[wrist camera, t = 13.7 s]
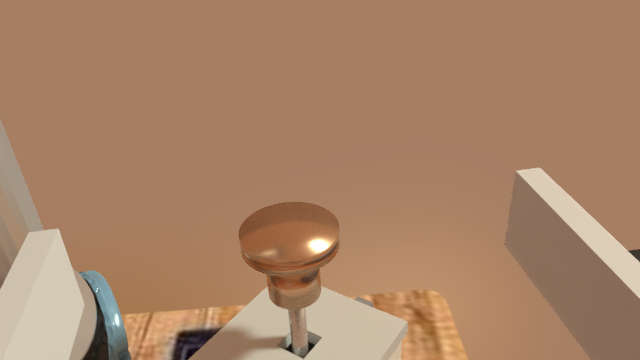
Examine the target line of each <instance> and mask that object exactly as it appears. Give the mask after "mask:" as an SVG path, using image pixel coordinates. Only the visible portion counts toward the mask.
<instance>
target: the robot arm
mask: <svg viewBox="0 0 640 360" xmlns="http://www.w3.org/2000/svg"><path fill="white" fill-rule="evenodd" d="M505 246H506V247H507V249H508V250H509V251H510V253H511V254H512V255H513V257H514V258H515V259H516V261H517V262H518V263H519V265H520V266H521V267H522V269H523V270H524V271H525V273H526V274H527V275H528V277H529V278H530V279H531V281H532V282H533V283H534V285H535V286H536V287H537V288H538V290H539V291H540V293H541V294H542V295H543V296H544V298H545V299H546V301H547V302H548V303H549V305H550V306H551V307H552V308H553V310H554V311H555V312H556V314H557V315H558V316H559V318H560V319H561V320H562V322H563V323H564V324H565V326H566V327H567V328H568V330H569V331H570V332H571V334H572V335H573V336H574V338H575V339H576V340H577V342H578V343H579V344H580V346H581V347H582V348H583V350H584V351H585V352H586V354H587V355H588V356H589V358H590V359H591V360H640V249H638V250H631V251H627V250H626V249H625V248H624V247H623V246H622V245H621V244H620V243H619V242H618V241H617V240H616V239H615V238H614V237H612V235H610V234H609V233H608V232H607V231H606V230H605V229H604V228H603V227H602V226H601V225H600V224H599V223H598V222H597V221H596V220H595V219H593V218H592V217H591V216H590V215H589V214H588V213H587V212H586V211H585V210H584V209H583V208H582V207H581V206H580V205H579V204H578V203H577V202H576V201H574V200H573V199H572V198H571V197H570V196H569V195H568V194H567V193H566V192H565V191H564V190H563V189H562V188H561V187H560V186H559V185H557V184H556V183H555V182H554V181H553V180H552V179H551V178H550V177H549V176H548V175H547V174H546V173H545V172H544V171H543V170H542V169H541V168H534V169H526V170H519V171H516V173H515V180H514V186H513V193H512V199H511V206H510V213H509V219H508V226H507V232H506V239H505ZM0 360H131V356H130V353H129V351H128V341H127V335H126V331H125V328H124V324H123V321H122V318H121V314H120V311H119V308H118V306H117V303H116V300H115V298H114V296H113V293H112V291H111V289H110V287H109V285H108V283H107V281H106V280H105V279H104V277H103V276H102V275H101V274H99V273H97V272H96V271H86V272H77V271H75V270H74V269H73V268H72V267H71V264H70V261H69V258H68V255H67V252H66V249H65V247H64V244H63V241H62V238H61V235H60V232H59V229H52V230H45V231H44V230H43V227H42V224H41V222H40V219H39V216H38V214H37V212H36V209H35V206H34V204H33V201H32V199H31V196H30V193H29V191H28V188H27V186H26V183H25V181H24V178H23V175H22V173H21V170H20V168H19V165H18V162H17V160H16V157H15V155H14V152H13V150H12V147H11V145H10V142H9V140H8V137H7V134H6V132H5V129H4V126H3V124H2V121H1V119H0Z"/></svg>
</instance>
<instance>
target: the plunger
mask: <svg viewBox="0 0 640 360" xmlns="http://www.w3.org/2000/svg"><path fill="white" fill-rule="evenodd" d="M239 240H240V247H241V253H242V256H243V259H244V260H245V262H246V263H247V264H248V265H249V266H251V267H252V268H254V269H255V270H257V271H259V272H262V273H265V274H266V277H267V285H268V293H269V298H270V300H271V301H272V302H273V303H274V304H275V305H276V306H278V307H280V308H283V309H288V314H289V323H290V333H291V342H292V352H293V354H294V355H296V356H298V357H301V358H303V359H304V358H305V357H306V356H307V355H308V353H309V348H308V336H307V324H306V312H305V307H308V306H310V305H312V304H313V303H314V302H316V301H317V299H318V298H319V297H320V294H321V279H320V268H321V267H323V266H324V265H326V264H327V263H329V262H330V261H331V260H332V259H333V258H334V257H335V255H336V254H337V252H338V249H339V246H340V236H339V223H338V220H337V219H336V217H335V216H334V215H333V214H332V213H331V212H330V211H328V210H327V209H325V208H323V207H320V206H318V205H314V204H310V203H303V202H286V203H279V204H275V205H271V206H268V207H265V208H263V209H260V210H258V211H256V212H255V213H253V214H252V215H251V216H249V217H248V218H247V219H246V220H245V221H244V222H243V224H242V225H241V228H240V230H239Z"/></svg>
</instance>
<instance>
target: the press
mask: <svg viewBox="0 0 640 360" xmlns="http://www.w3.org/2000/svg"><path fill="white" fill-rule="evenodd" d="M305 312H306V324H307V336H308V348H309V353H308V355H307V356H306V357H305V358H304V359H303V358H301V357H298V356H296V355H294V354H293V352H292V342H291V333H290V323H289V314H288V309H283V308H280V307H278V306H276V305H275V304H274V303H273V302H272V301H271V300H270V298H269V293H268V287H267V288H265V289H264V290H263V291H262V292H261V293H260V294H259V295H258V296H257V297H256V298H255V299H253V300H252V301H251V302H250V303H249V304H248V305H247V306H246V307H245V308H244V309H243V310H242V311H240V312H239V313H238V314H237V315H236V316H235V317H234V318H233V319H232V320H231V321H230V322H229V323H227V324H226V325H225V326H224V327H223V328H222V329H221V330H220V331H219V332H218V333H217V334H215V335H214V336H213V337H212V338H211V339H210V340H209V341H208V342H207V343H206V344H205V345H204V346H202V347H201V348H200V349H199V350H198V351H197V352H196V353H195V354H194V355H193V356H192V357H191V358H189V359H188V360H401V342H402V340H403V338H404V337H405V336H406V334H407V323H408V322H407V321H405V320H402V319H400V318H397V317H395V316H393V315H390V314H388V313H385V312H383V311H380V310H378V309H375V308H373V302H370V301H368V300H365V299H363V298H360V297H358V296H357V297H356V299H355V300H353V299H351V298H349V297H346V296H343V295H341V294H339V293H336V292H334V291H331V290H329V289H326V288H324V287H322V286H321V294H320V297H319V298H318V299H317V301H316V302H314V303H313V304H312V305H310V306H308V307H305Z"/></svg>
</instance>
